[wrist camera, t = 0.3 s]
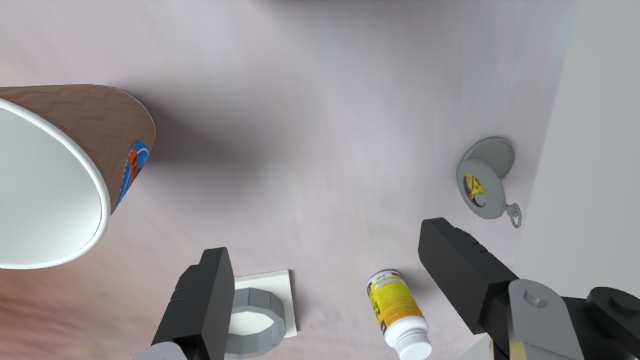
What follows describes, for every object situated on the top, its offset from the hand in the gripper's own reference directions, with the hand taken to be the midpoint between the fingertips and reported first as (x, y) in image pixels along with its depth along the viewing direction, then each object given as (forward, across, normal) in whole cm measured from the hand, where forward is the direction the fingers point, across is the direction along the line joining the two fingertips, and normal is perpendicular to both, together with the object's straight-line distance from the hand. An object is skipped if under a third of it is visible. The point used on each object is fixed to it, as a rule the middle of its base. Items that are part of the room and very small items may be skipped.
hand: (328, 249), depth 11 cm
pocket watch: (+18, -21, +6) cm, 28 cm away
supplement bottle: (+19, -11, +24) cm, 32 cm away
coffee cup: (+18, +16, -2) cm, 24 cm away
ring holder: (+19, +9, +24) cm, 32 cm away
